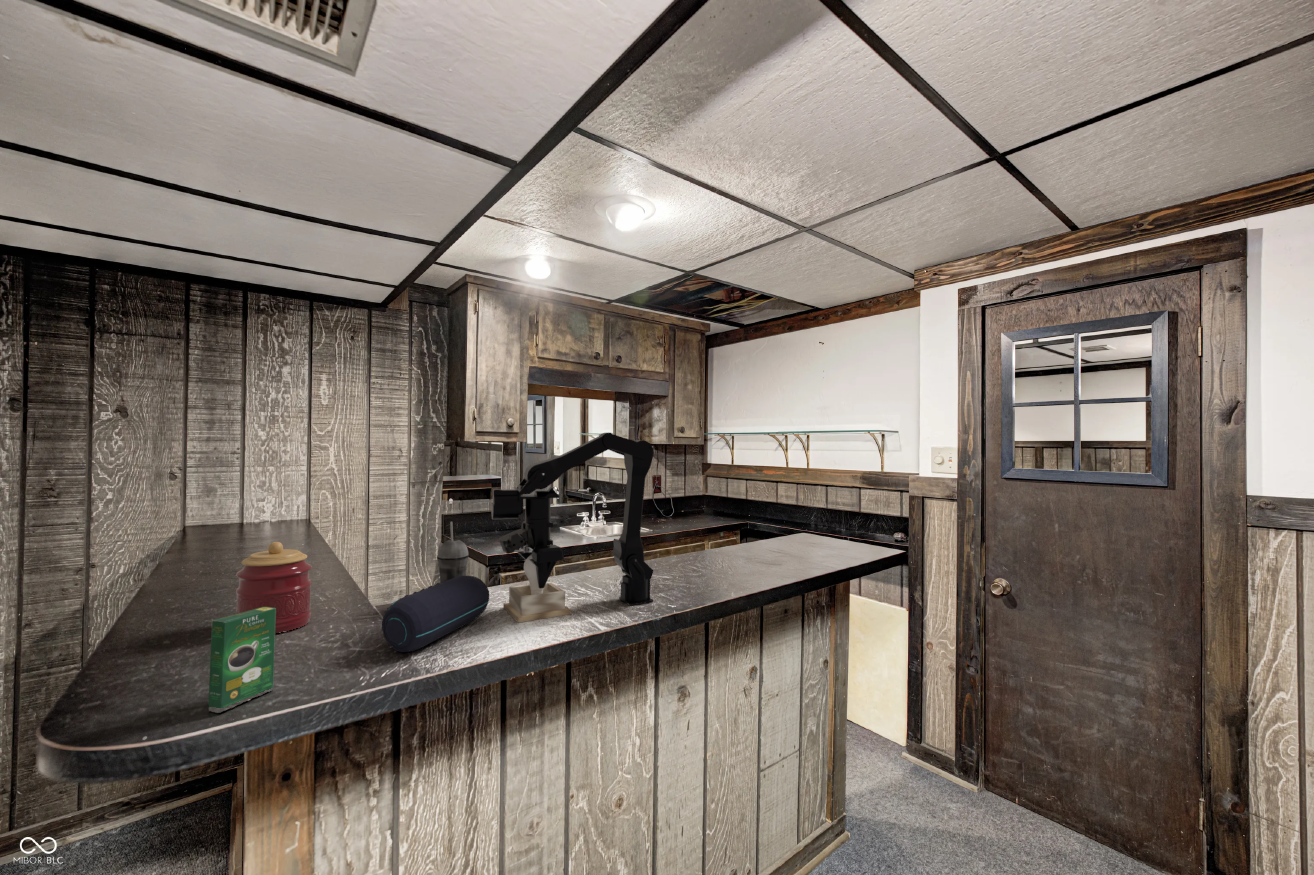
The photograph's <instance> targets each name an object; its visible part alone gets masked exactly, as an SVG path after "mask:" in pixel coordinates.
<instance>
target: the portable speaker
mask: <svg viewBox="0 0 1314 875" xmlns="http://www.w3.org/2000/svg"><path fill="white" fill-rule="evenodd" d="M489 590H490V589H489V588H488V585H487V584H486V583H485V582H484V581H483V580H482V579H481V578H478V577H477V576H474V575H466V576H457V577H455V578H452V579H450V580H447V581H446V580H445V581H443V582H442V583H440V582H438V583H435V584H434V585H430V586H428V587H427V588H421V589H420V590H419V591H418V590H417V591H413V593H411V594H406V595H404V596H403V597H400V598H399V599H397V600H395V601H394V602H392V604H390V606H388V608H387V609H386V611H385V612H384V615H383V616H382V619H381V630H382V634H383V637H384V639H385V641H386V642H387V644H388V646H390V647H391V648H392V649H393V650H394V651H397V652H400V653H409V652H414V651H417V650H420V649H421V648H423V647H425V646H427V645H429V644H430V643H433V642H435V641H437V640H439V639H440V638H443V637H444V636H446V635H448V634H450V633H452V632H454V631H456V630H458V629H459V628H461V627H464V625H466V624H467V625H468V623H471V622H473V621H475V619H477V618H479V616H480V615H481V614H483V613H484V612H485V610H486V608H487V607H488V604H489V601H490V591H489Z"/></svg>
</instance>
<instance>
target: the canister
mask: <svg viewBox="0 0 1314 875" xmlns="http://www.w3.org/2000/svg"><path fill="white" fill-rule="evenodd" d="M307 558H308V554H306V553H303V552H302V551H300V550H299V549H292V548H291V549H289V548H286V549H285V548H284V546H283V543H281V542H280V541H274V542H271V543H270V544H269V545H268V547H267V550H264V551H258V552H254V553H251V554H250V555H249V556H248V557H246V558H245V559H243V560H242V561H241V565H243V567H242V569H240V570H238V571H237V572H236V574H235V576H236V577H237V579H238V587H237V588H236V590H235V593H236V611H235V612H236V613H235V614H238V613H242V612H246V611H249V610H253V609H257V608H260V607H272V608H276V620H275V633H279V632H283V631H288V632H290V631H289V630H292V631H294V630H293V629H295V630H297V629H296V628H298V629H300V628H299V627H301V626H303V627H304V625H305V626H306V625H308V624H309V623H308V622H311V621H310V619H311V616H312V608H311V591H312V590H311V589H312V587H311V585H312V580H311V579H310V571H311V570H312V569H313V566H312V564H310V563H308V562H307V561H306V559H307ZM307 623H308V624H307ZM301 628H302V627H301Z"/></svg>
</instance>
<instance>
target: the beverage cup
mask: <svg viewBox="0 0 1314 875" xmlns="http://www.w3.org/2000/svg"><path fill="white" fill-rule="evenodd" d="M449 522H450V523H449V524H450V525H449V527H450V528H449V529H450V539H448V540H446V541H444V542H443V543H442V544H441V545H440V547H439V549H438V551H437V556H436V560H437V565H438V569H439V570H438V571H439V572H438V573H439V583H442V582H443V581H445V580H446V581H447V580H450V579H452V578H455V577H457V576H467V574H466V573H467V565H468V562H469V558H470V554H469V550H468V547H467V545H466V543H465V542H463V541H462V540H460V539H458V538H457V539H454V533H453V532H454V531H453V529H454V528H453V526H454V525H453V521H449Z"/></svg>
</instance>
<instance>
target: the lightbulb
mask: <svg viewBox="0 0 1314 875" xmlns="http://www.w3.org/2000/svg"><path fill="white" fill-rule="evenodd" d="M529 559H533V558H532V555H530V556H529V557H528V558H527V559H526V561H524V563H523V571H524V574H525V576H526V577H527V580H528V582H529V584H530V589H531V595H535V594H542V593H543V589H544V588H539V586H538V580H537V572H536V566H535V565H534V564H533V563H532V562H531V561H530V560H529Z"/></svg>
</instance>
